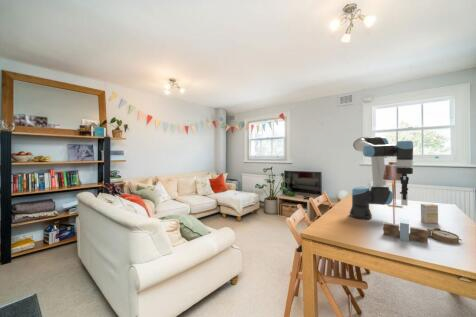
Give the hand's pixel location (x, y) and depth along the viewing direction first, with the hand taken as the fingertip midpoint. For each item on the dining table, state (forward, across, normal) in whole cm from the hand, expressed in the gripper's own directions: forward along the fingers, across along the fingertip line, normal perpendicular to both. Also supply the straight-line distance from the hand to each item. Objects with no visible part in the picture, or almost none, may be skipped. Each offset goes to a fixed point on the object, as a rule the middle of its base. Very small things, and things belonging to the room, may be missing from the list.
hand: (404, 202), depth 120 cm
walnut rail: (+21, 0, 0) cm, 21 cm away
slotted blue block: (+21, 0, 0) cm, 21 cm away
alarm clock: (+21, +12, -17) cm, 30 cm away
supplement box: (+22, +44, -14) cm, 51 cm away
